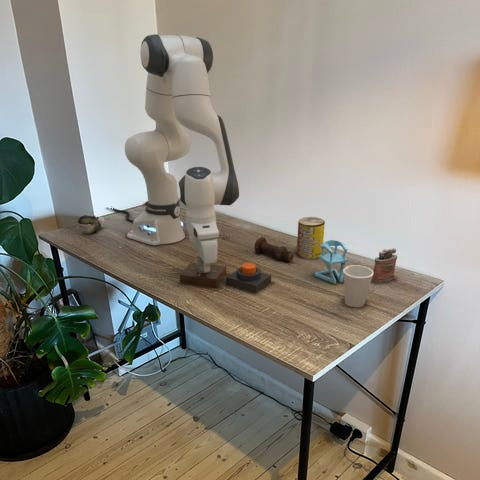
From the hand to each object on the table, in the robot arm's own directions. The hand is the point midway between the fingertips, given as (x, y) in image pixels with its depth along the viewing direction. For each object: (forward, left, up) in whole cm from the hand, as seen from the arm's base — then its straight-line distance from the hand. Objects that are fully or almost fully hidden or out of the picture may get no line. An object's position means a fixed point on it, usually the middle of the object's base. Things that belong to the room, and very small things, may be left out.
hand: (203, 266), depth 156 cm
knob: (0, 0, -1) cm, 1 cm away
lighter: (+51, +24, -5) cm, 57 cm away
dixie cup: (+47, +5, -4) cm, 48 cm away
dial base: (0, 0, -4) cm, 4 cm away
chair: (+36, +18, -4) cm, 41 cm away
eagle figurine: (-63, +20, -5) cm, 66 cm away
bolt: (+13, +26, -5) cm, 30 cm away
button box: (+14, +3, -4) cm, 15 cm away
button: (+14, +3, 0) cm, 15 cm away
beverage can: (+23, +34, -4) cm, 42 cm away
